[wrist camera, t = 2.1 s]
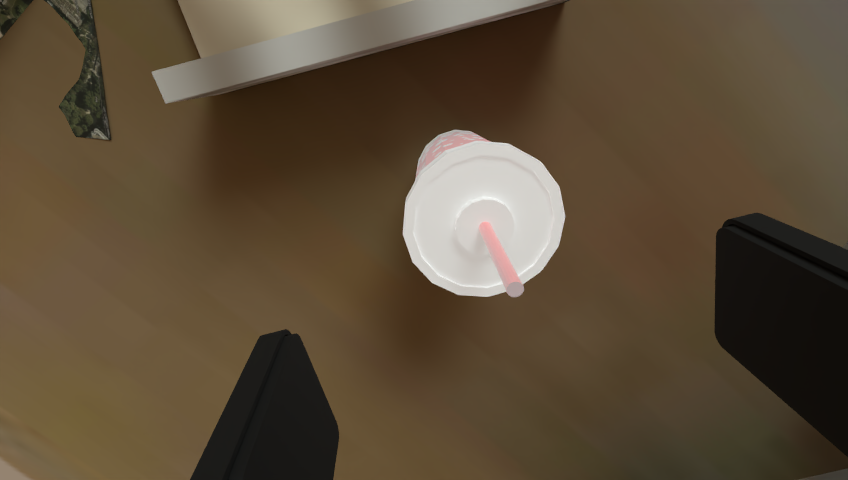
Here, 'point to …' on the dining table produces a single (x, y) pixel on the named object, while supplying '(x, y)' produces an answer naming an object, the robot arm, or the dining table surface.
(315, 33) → the tray
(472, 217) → the beverage cup
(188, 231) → the dining table surface
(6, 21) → the eiffel tower figurine
